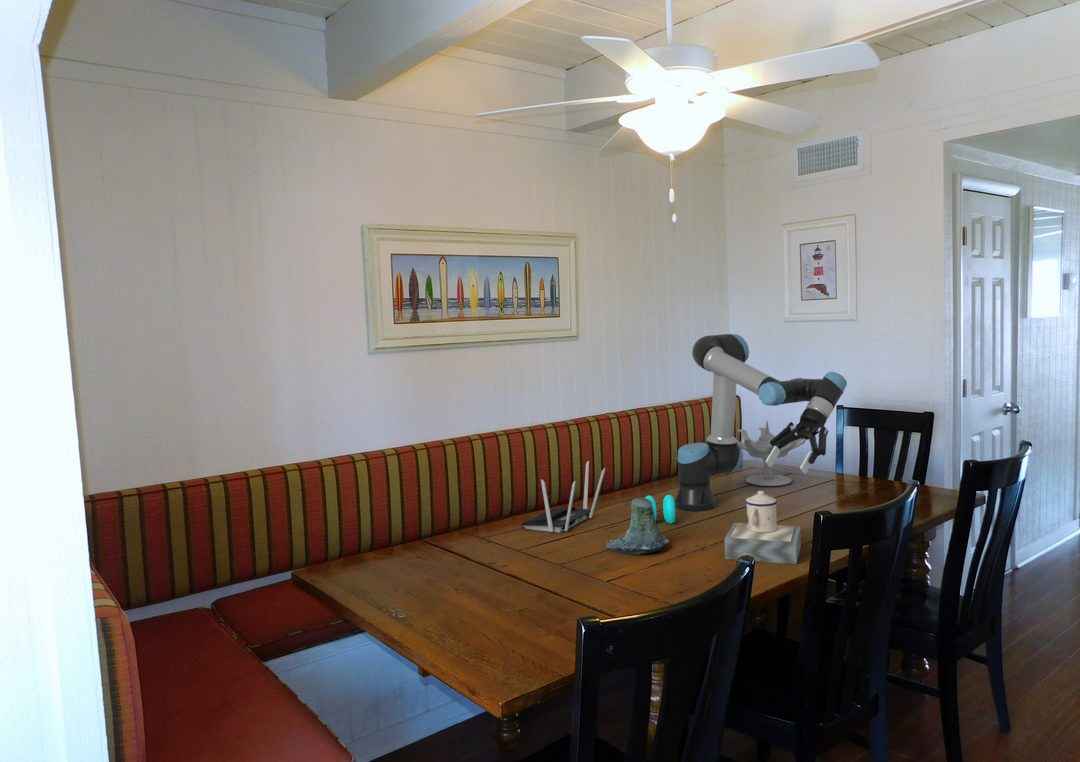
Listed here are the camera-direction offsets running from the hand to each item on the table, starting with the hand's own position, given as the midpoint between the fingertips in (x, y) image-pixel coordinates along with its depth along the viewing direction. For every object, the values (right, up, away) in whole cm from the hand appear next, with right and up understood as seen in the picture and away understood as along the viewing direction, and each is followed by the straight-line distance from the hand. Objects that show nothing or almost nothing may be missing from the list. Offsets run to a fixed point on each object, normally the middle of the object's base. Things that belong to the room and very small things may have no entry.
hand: (784, 467), depth 236 cm
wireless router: (-68, -25, +34) cm, 80 cm away
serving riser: (-9, -25, -8) cm, 27 cm away
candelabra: (+21, -16, +85) cm, 89 cm away
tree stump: (-45, -26, +3) cm, 52 cm away
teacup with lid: (-10, -18, -7) cm, 22 cm away
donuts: (-34, -23, +30) cm, 51 cm away
